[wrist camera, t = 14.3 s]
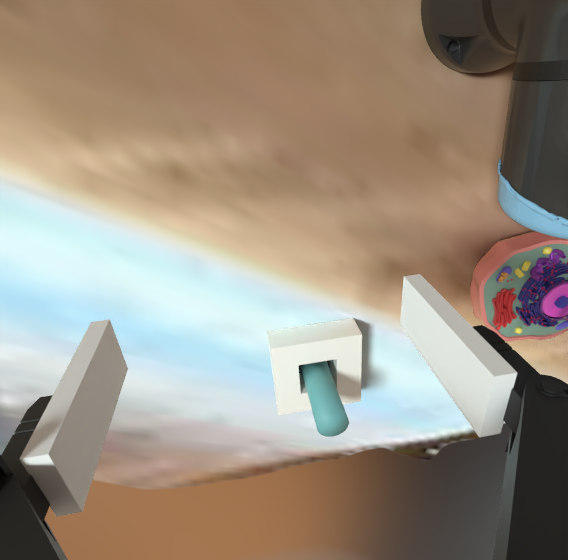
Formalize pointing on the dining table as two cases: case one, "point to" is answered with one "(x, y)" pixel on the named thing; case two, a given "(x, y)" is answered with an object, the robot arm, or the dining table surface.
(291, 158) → the dining table surface
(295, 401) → the socket block
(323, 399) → the peg
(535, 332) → the cell model
